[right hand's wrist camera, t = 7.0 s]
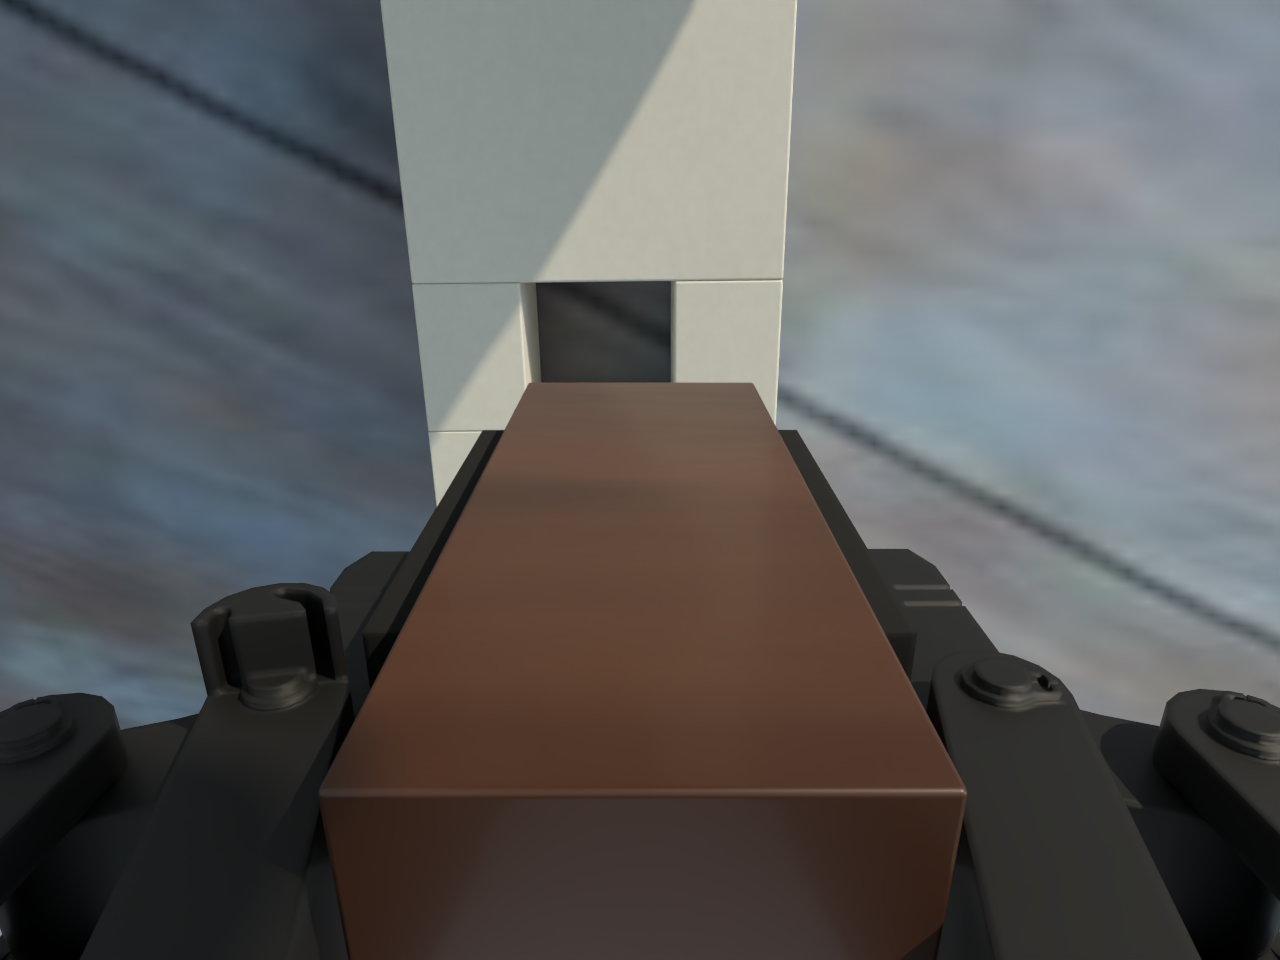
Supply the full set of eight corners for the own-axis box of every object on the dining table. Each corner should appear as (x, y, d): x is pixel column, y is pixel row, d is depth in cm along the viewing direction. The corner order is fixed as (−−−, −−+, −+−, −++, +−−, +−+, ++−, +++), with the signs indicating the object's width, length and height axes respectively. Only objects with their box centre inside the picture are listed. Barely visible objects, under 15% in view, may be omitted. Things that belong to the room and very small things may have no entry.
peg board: (756, 481, 32) (831, 689, 19) (461, 484, 33) (338, 692, 20) (800, -547, 22) (1034, -1629, 9) (361, -537, 22) (-59, -1590, 9)
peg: (742, 581, 16) (894, 1191, 6) (538, 581, 16) (389, 1191, 6) (754, 381, 14) (971, 791, 5) (527, 381, 14) (313, 792, 5)
